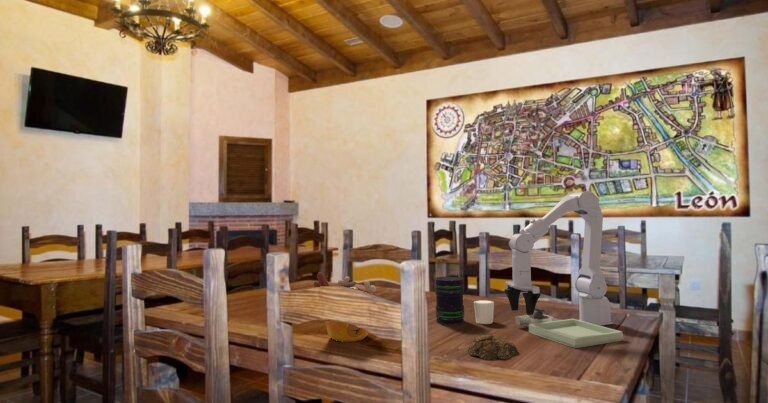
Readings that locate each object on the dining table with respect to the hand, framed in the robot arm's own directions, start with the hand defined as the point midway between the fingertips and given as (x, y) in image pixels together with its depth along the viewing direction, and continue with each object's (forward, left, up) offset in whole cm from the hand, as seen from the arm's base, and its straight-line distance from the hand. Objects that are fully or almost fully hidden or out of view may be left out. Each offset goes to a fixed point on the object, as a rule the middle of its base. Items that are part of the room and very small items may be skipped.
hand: (522, 312), depth 154 cm
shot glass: (+6, -12, -5) cm, 15 cm away
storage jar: (+16, -18, -5) cm, 25 cm away
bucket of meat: (+55, -14, -5) cm, 57 cm away
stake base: (-9, 0, -5) cm, 10 cm away
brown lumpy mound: (+25, +18, -5) cm, 32 cm away
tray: (-7, +16, -5) cm, 17 cm away
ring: (-4, 0, -4) cm, 6 cm away
